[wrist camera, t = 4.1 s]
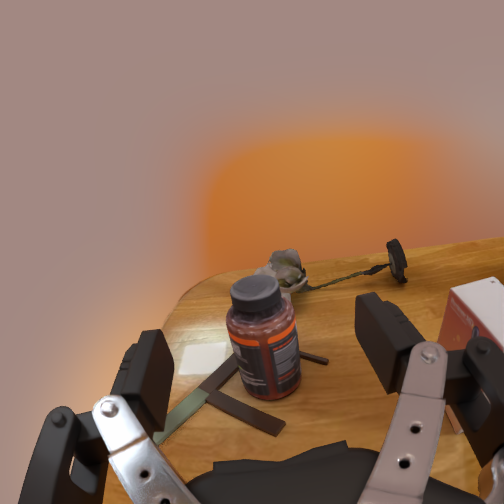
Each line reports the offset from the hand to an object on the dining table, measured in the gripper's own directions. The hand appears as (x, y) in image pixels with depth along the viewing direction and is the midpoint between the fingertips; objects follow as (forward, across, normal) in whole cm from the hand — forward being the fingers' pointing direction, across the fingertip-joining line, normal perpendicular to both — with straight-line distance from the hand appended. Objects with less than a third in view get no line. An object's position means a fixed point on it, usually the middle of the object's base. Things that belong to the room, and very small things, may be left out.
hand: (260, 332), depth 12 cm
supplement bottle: (+11, 0, +16) cm, 19 cm away
